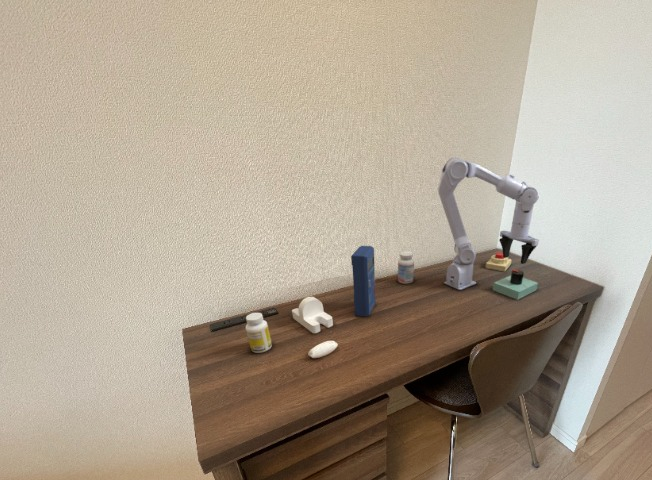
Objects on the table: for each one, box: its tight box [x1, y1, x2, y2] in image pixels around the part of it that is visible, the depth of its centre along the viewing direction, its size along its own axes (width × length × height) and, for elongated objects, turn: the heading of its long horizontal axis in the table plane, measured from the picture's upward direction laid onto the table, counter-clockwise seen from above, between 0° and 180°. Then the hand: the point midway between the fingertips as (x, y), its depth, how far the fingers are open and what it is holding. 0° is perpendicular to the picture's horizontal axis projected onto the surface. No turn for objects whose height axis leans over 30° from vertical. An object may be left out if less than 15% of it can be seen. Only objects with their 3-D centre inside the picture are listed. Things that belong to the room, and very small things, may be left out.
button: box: [494, 252, 504, 259], centre depth 135 cm, size 4×4×2 cm
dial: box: [510, 269, 525, 285], centre depth 113 cm, size 4×4×4 cm
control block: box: [485, 254, 512, 272], centre depth 136 cm, size 10×8×4 cm
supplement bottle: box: [245, 312, 273, 354], centre depth 84 cm, size 5×5×10 cm
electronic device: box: [350, 245, 376, 317], centre depth 100 cm, size 10×5×20 cm, turn 168°
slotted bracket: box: [291, 296, 334, 334], centre depth 96 cm, size 13×7×8 cm, turn 42°
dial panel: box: [492, 275, 539, 301], centre depth 115 cm, size 12×10×3 cm
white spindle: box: [307, 340, 339, 359], centre depth 83 cm, size 3×8×3 cm, turn 131°
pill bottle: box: [397, 251, 415, 285], centre depth 121 cm, size 6×6×11 cm
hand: (514, 260), depth 116 cm, fingers open, 7 cm apart
